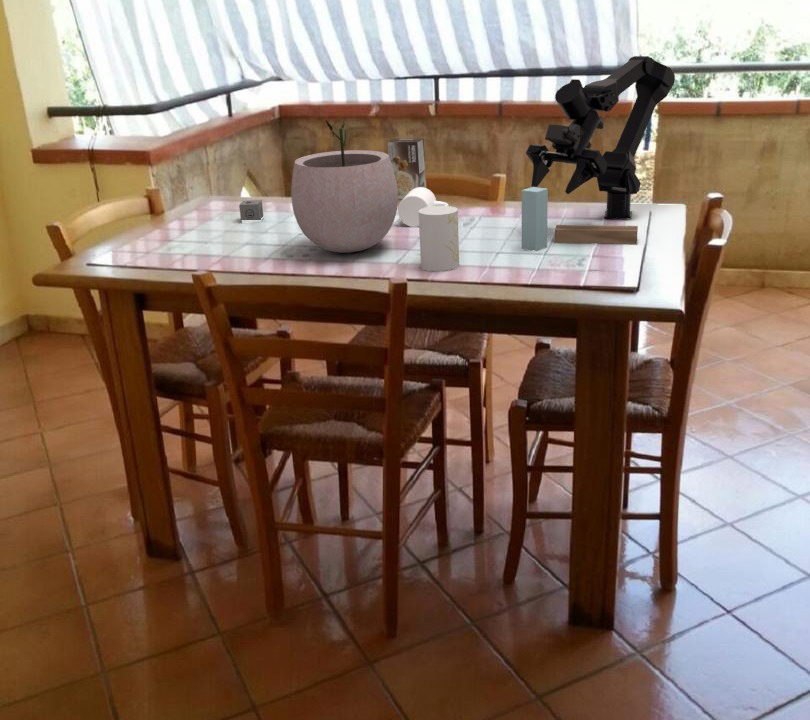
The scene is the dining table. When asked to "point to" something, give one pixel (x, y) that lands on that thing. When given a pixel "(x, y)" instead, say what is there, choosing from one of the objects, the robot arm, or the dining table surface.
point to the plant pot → (344, 197)
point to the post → (534, 218)
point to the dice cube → (251, 210)
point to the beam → (596, 234)
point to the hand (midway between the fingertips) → (549, 190)
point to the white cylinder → (439, 238)
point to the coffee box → (407, 164)
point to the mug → (416, 205)
